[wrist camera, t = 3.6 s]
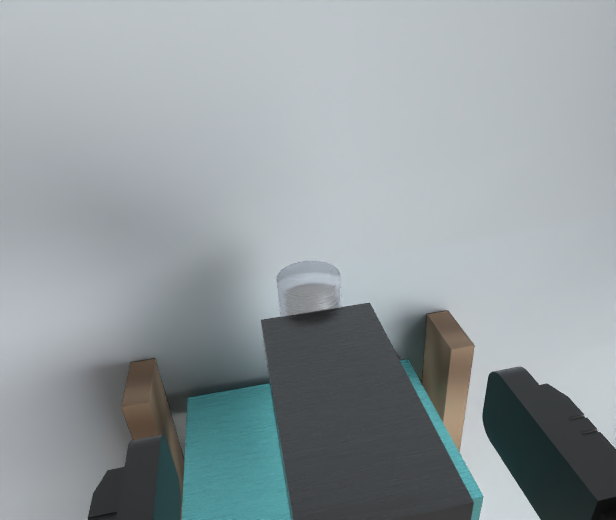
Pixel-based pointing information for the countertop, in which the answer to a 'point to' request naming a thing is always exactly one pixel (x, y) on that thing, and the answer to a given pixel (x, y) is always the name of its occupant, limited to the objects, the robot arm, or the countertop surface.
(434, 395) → the brown wooden frame
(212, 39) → the countertop surface
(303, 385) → the block on teal slab
